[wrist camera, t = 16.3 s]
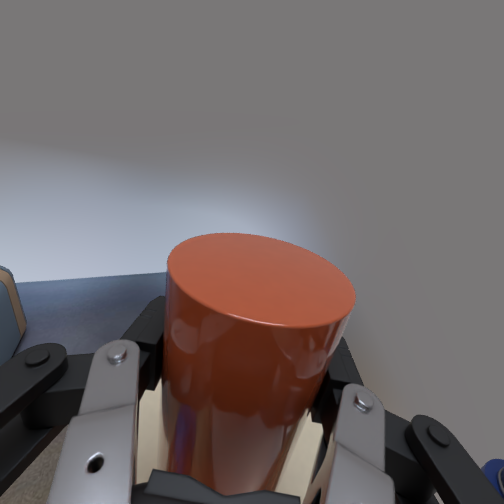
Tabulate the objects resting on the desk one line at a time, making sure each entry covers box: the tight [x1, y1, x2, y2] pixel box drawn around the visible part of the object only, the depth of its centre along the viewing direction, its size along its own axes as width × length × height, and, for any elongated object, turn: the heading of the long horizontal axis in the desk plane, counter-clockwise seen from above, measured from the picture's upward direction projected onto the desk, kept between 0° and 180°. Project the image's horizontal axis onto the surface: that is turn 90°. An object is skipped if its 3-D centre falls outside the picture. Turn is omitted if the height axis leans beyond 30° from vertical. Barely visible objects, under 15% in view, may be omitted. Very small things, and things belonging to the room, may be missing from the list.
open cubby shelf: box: [137, 379, 323, 504], centre depth 24 cm, size 20×16×19 cm
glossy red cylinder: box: [157, 233, 356, 496], centre depth 9 cm, size 6×6×10 cm
